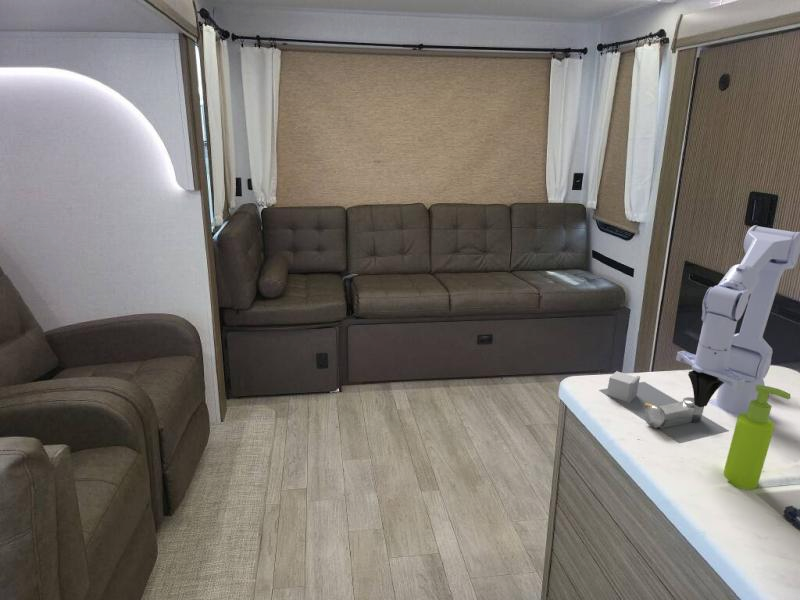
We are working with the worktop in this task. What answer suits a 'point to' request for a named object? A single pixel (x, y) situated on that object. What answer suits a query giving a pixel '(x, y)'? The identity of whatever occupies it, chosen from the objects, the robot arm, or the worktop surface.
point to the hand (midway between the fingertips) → (700, 405)
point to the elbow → (673, 414)
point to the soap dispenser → (751, 440)
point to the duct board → (645, 395)
